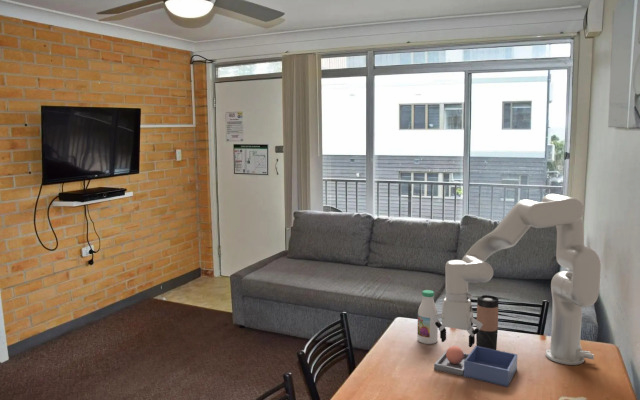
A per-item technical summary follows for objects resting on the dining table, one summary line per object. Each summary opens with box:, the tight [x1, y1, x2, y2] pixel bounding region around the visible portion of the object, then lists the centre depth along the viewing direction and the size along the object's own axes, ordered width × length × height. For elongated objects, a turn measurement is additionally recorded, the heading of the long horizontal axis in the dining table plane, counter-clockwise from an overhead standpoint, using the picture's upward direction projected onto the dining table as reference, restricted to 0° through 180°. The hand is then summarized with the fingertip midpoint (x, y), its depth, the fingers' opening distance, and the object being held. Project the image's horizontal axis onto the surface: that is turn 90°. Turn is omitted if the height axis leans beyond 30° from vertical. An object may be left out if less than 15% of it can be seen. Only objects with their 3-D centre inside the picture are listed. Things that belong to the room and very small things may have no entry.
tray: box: [433, 348, 470, 377], centre depth 181 cm, size 10×14×2 cm
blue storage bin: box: [463, 345, 518, 388], centre depth 175 cm, size 14×14×6 cm
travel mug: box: [475, 294, 499, 350], centre depth 192 cm, size 8×8×20 cm
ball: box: [446, 345, 464, 364], centre depth 181 cm, size 6×6×6 cm
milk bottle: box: [416, 289, 439, 345], centre depth 201 cm, size 8×8×20 cm
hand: (457, 343), depth 181 cm, fingers open, 9 cm apart
